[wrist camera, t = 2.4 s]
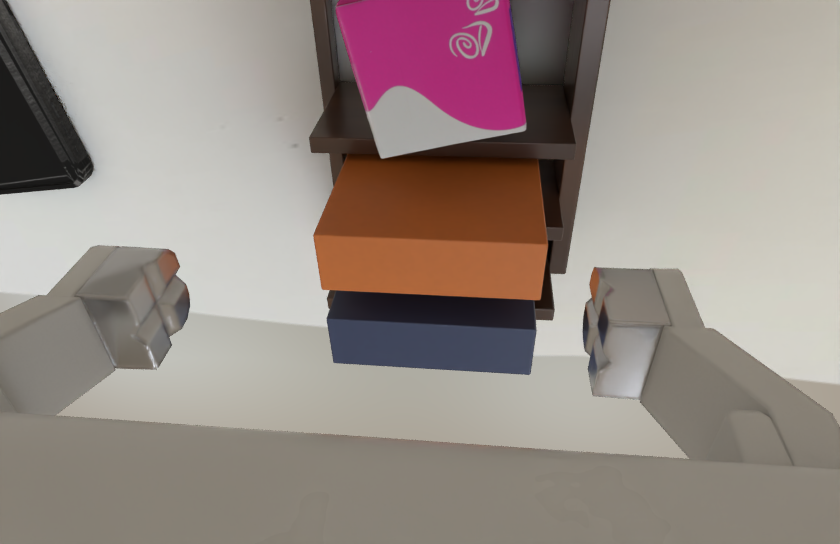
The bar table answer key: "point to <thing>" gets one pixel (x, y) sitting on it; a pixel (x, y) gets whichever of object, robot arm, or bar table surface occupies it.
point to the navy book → (432, 331)
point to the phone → (33, 122)
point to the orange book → (434, 227)
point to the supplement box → (434, 70)
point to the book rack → (543, 138)
